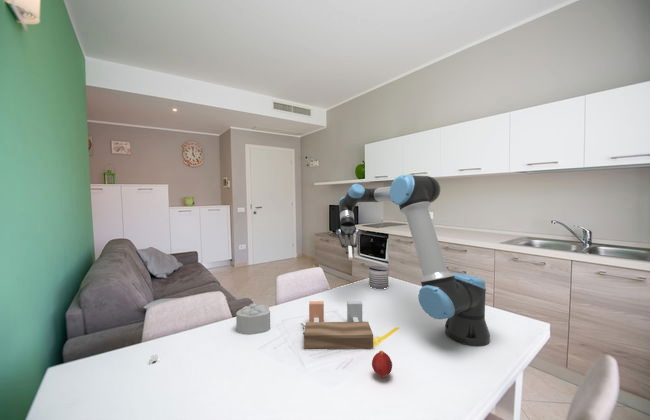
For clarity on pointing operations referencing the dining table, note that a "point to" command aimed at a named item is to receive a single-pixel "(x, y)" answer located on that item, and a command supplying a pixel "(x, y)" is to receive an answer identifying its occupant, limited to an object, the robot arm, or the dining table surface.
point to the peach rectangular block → (316, 311)
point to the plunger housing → (338, 335)
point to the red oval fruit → (382, 364)
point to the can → (378, 277)
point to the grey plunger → (354, 311)
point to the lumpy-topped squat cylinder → (253, 319)
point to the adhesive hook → (154, 358)
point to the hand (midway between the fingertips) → (350, 258)
